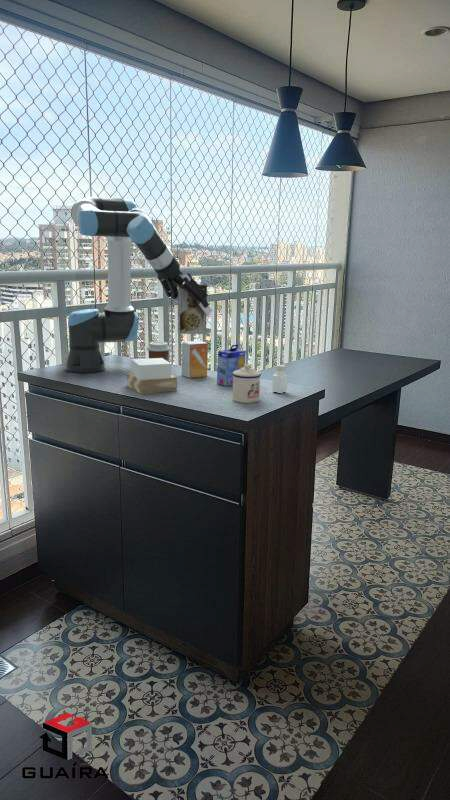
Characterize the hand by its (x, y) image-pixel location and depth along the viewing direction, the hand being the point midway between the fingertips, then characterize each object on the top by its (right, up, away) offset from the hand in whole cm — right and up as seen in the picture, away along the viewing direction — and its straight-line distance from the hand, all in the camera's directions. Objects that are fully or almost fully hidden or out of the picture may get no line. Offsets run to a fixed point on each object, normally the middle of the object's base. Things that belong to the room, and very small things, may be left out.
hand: (198, 311), depth 187 cm
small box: (-3, -21, +27) cm, 34 cm away
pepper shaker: (+28, -27, +5) cm, 39 cm away
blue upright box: (+11, -24, +16) cm, 31 cm away
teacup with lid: (+16, -30, -5) cm, 34 cm away
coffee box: (-2, -7, 0) cm, 8 cm away
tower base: (-17, -26, +6) cm, 31 cm away
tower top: (-16, -21, +4) cm, 27 cm away
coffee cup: (-17, -20, +29) cm, 39 cm away
